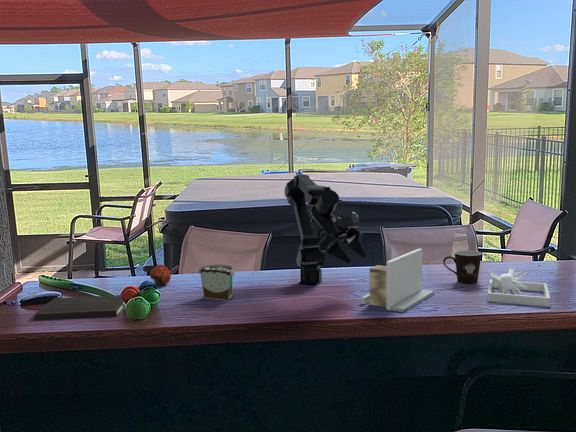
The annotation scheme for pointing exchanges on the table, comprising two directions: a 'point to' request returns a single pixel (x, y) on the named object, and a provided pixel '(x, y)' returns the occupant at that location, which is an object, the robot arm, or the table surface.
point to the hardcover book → (80, 308)
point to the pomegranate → (160, 275)
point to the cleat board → (403, 282)
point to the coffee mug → (466, 266)
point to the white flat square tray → (522, 298)
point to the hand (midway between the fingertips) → (358, 259)
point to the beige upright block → (378, 286)
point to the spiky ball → (507, 281)
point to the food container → (217, 281)
